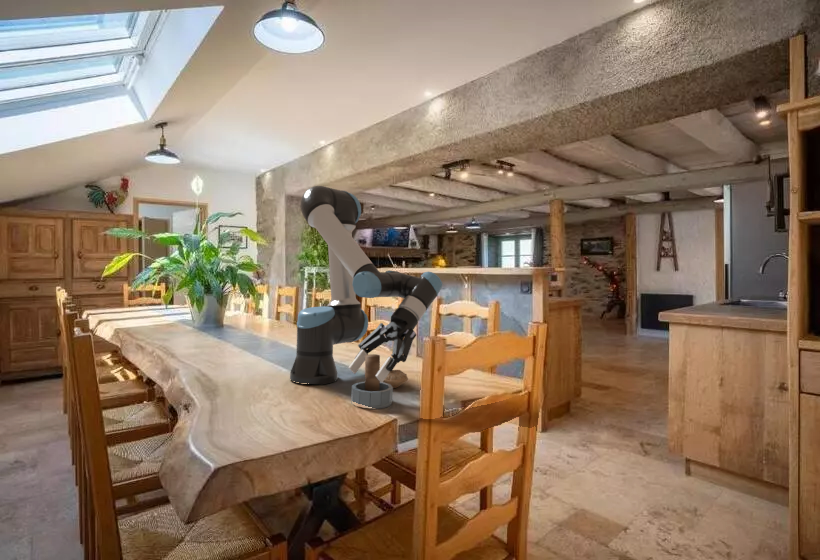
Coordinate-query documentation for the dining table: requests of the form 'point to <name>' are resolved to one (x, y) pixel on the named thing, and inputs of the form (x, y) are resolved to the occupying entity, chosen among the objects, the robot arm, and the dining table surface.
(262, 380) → the dining table surface
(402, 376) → the pottery oil lamp
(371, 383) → the brown cylinder
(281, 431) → the dining table surface
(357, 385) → the grey plastic ring
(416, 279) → the robot arm
